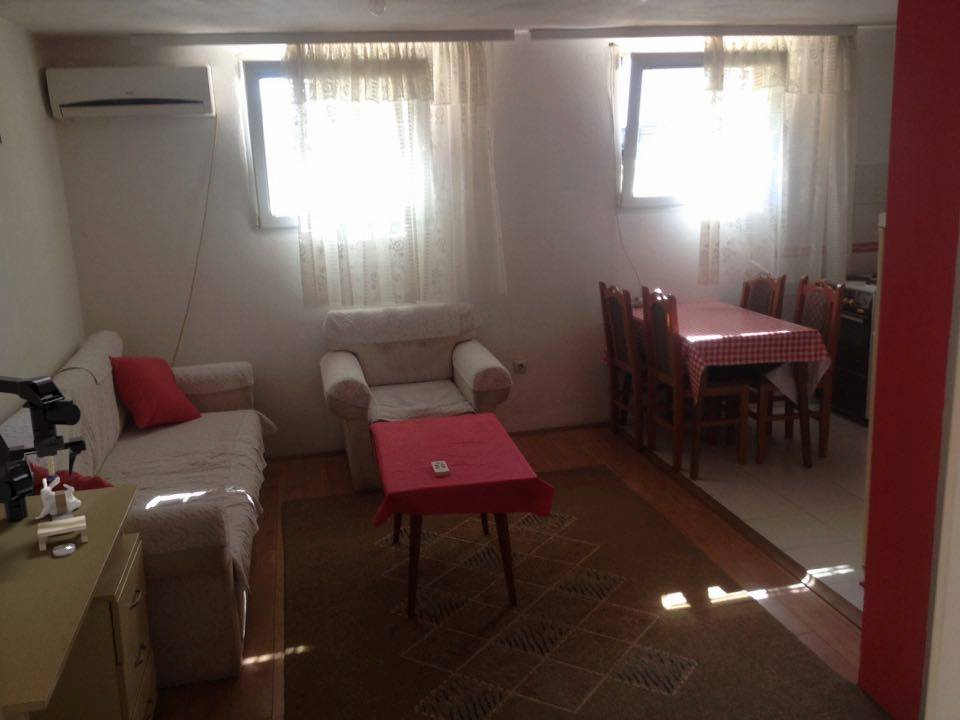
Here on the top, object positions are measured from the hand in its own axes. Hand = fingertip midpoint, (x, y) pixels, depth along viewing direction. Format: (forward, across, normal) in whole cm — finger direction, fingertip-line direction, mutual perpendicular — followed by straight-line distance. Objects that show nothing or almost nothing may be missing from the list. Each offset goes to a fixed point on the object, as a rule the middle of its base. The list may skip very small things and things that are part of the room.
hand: (51, 479), depth 227 cm
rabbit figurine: (+12, 0, +9) cm, 15 cm away
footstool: (+12, +1, -17) cm, 21 cm away
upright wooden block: (+12, +1, +3) cm, 12 cm away
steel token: (+12, +1, -25) cm, 28 cm away
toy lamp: (+12, -1, +40) cm, 42 cm away
